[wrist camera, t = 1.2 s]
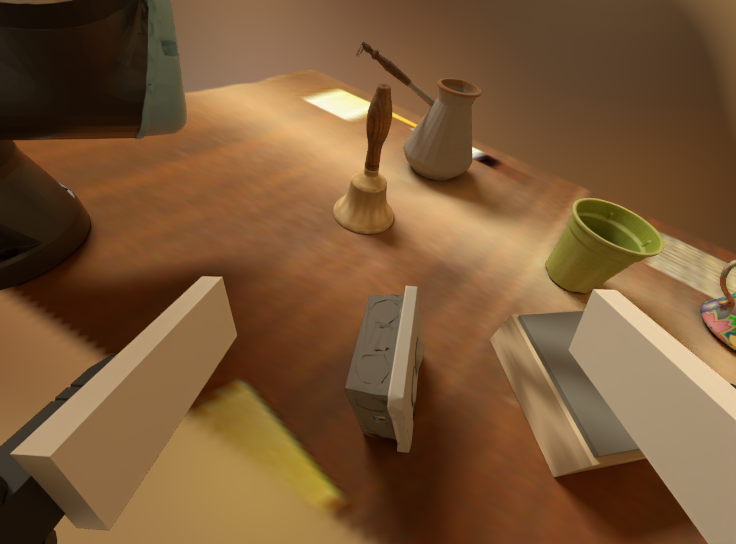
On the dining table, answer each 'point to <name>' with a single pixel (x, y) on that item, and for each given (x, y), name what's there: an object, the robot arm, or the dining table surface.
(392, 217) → the hand bell
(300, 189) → the dining table surface
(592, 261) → the plant pot
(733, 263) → the mug
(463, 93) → the coffee pot
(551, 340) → the birch stand
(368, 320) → the electrical switch
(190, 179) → the dining table surface
